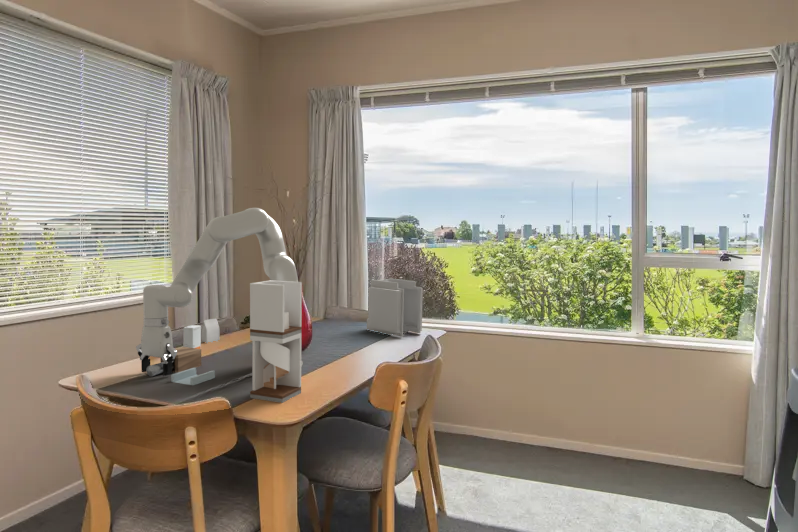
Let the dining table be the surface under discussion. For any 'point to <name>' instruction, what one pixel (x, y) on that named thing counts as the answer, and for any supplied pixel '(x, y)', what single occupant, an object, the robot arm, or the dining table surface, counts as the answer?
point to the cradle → (191, 377)
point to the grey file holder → (395, 306)
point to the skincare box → (192, 336)
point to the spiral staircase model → (276, 339)
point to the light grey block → (210, 331)
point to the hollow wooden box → (186, 359)
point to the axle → (157, 368)
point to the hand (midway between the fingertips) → (156, 373)
